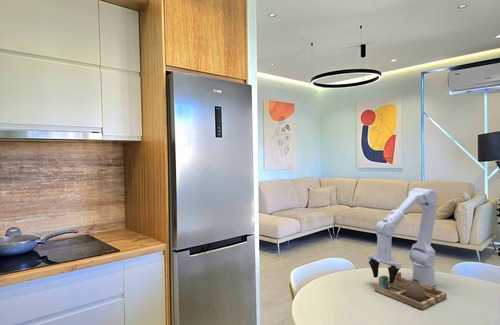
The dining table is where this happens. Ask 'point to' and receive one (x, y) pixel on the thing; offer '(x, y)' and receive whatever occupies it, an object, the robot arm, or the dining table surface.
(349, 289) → the dining table surface
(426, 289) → the walnut cube
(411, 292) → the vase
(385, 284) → the tray
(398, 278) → the frame
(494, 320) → the dining table surface
